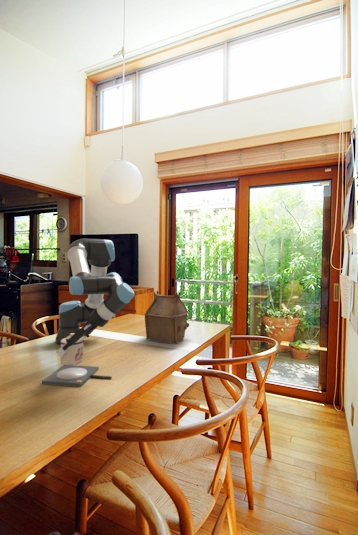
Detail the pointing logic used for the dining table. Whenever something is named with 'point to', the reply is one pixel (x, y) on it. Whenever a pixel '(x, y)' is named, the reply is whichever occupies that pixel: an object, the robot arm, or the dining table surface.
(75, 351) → the teacup with lid
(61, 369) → the warming pad
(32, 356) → the dining table surface
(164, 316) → the hut
